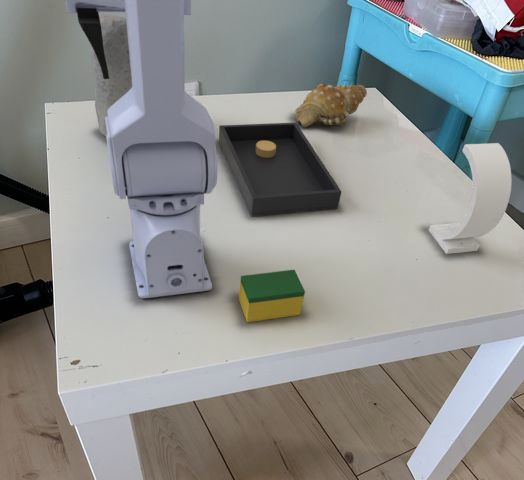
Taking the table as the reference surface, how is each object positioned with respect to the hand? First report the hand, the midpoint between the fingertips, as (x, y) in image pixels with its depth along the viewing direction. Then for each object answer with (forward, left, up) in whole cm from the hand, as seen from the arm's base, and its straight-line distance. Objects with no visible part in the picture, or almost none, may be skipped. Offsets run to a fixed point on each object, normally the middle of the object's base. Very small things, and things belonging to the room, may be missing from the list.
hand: (135, 75), depth 66 cm
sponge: (-35, -9, -10) cm, 38 cm away
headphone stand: (-28, -37, -10) cm, 47 cm away
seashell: (+6, -32, -10) cm, 34 cm away
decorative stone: (+6, 0, -10) cm, 12 cm away
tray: (-9, -18, -10) cm, 22 cm away
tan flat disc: (-4, -18, -9) cm, 20 cm away
